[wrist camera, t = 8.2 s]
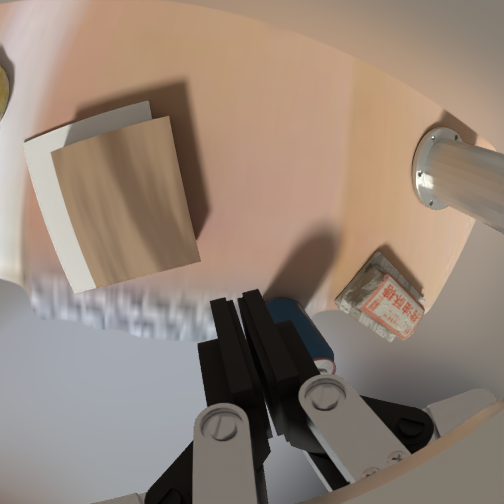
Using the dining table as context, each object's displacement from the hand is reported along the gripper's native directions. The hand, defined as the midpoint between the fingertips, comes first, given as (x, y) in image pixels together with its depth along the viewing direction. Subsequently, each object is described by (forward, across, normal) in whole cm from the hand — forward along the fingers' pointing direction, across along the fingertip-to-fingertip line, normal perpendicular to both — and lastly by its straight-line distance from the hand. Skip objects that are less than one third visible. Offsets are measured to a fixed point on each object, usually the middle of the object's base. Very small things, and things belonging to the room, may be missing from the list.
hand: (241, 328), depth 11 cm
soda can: (+24, -6, +20) cm, 32 cm away
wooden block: (+21, +1, 0) cm, 21 cm away
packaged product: (+25, -24, +24) cm, 43 cm away
